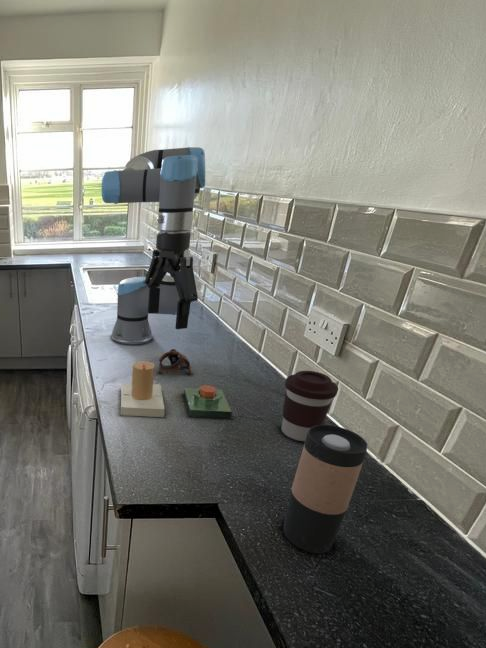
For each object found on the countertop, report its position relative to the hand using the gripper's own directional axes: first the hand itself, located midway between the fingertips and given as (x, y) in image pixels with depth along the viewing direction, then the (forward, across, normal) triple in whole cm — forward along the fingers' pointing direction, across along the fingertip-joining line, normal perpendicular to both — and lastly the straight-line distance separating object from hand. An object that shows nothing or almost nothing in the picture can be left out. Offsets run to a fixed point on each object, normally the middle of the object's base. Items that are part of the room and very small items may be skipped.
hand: (166, 320), depth 101 cm
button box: (+24, +6, +11) cm, 27 cm away
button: (+20, +6, +11) cm, 24 cm away
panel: (+24, -1, -5) cm, 24 cm away
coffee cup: (+24, +24, +23) cm, 41 cm away
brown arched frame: (+24, -16, +14) cm, 32 cm away
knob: (+21, -1, -5) cm, 22 cm away
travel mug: (+24, +48, +1) cm, 54 cm away
